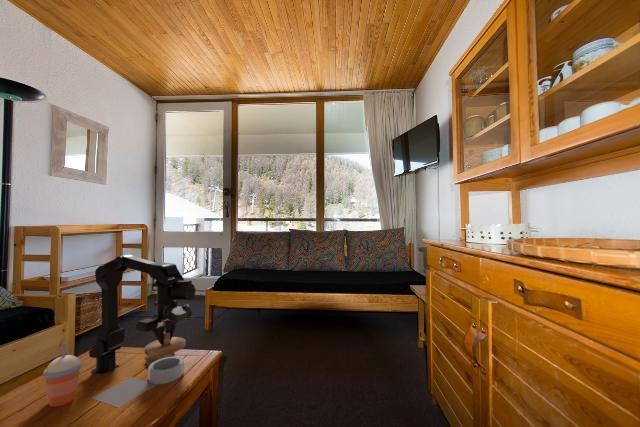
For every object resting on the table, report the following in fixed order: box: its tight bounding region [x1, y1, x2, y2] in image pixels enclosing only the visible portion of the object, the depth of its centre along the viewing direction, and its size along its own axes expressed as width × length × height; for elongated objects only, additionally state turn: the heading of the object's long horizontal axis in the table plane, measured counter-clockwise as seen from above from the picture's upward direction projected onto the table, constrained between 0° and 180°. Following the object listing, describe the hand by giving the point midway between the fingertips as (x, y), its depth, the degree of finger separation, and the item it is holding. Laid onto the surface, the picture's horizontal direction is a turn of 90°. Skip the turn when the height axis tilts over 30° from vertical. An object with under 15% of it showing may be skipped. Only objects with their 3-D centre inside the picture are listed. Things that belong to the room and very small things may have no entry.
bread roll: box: [144, 352, 176, 367], centre depth 114 cm, size 10×10×8 cm
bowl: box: [147, 355, 185, 385], centre depth 103 cm, size 11×11×4 cm
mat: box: [91, 376, 158, 409], centre depth 93 cm, size 13×13×1 cm
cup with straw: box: [42, 341, 83, 408], centre depth 89 cm, size 9×9×18 cm
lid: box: [144, 331, 187, 356], centre depth 103 cm, size 13×13×5 cm
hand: (165, 342), depth 103 cm, fingers closed on lid, 3 cm apart
